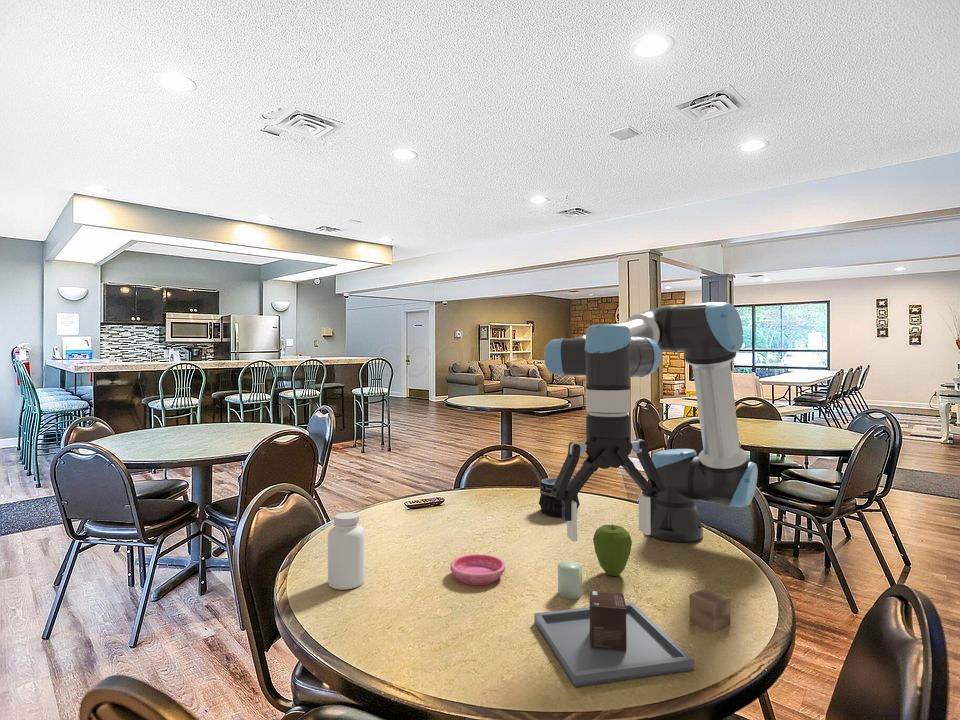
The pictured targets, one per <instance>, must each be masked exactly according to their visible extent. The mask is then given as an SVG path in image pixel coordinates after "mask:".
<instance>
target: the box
mask: <svg viewBox="0 0 960 720" xmlns="http://www.w3.org/2000/svg"><path fill="white" fill-rule="evenodd" d="M588 595H589V596H588V597H589V601H588V602H589V607H590V645H591V648H596V649H609V650H620V651H626V650H627V634H626V604H625V603H626V601H625V596H624V593H623V592H611V591H610V592H609V591H589V592H588Z"/></svg>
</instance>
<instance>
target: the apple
mask: <svg viewBox="0 0 960 720" xmlns="http://www.w3.org/2000/svg"><path fill="white" fill-rule="evenodd" d="M592 538H593V539H592V540H593V546H594V547H593V548H594V552H595V555H596V557H597V561H598V564H599V566H600V568H601V569H602V570H603V571H604V573H606V575H608V576H612V577H613V576H614V577H619V576H620V575H621V574H622V573H623V571H624V570H625V569H626V566H627V563H628V562H629V561H628V560H629V558H630V555H631V550H632V544H633V540H632V538H631V533H630V532H629V531H627V529H625V528H624V527H623V526H621V525H615V524H613V523H612V524H602V525H601V526H600V527H598V528H597V529H595V532H594V534H593V537H592Z"/></svg>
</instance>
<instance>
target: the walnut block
mask: <svg viewBox="0 0 960 720" xmlns="http://www.w3.org/2000/svg"><path fill="white" fill-rule="evenodd" d="M689 621H691V622H692V623H694V624H696V625H699V626H700V627H702V628H705V629H706V630H708V631H710V632H712V633H713V632H716V631H718V630H721V629H723V628H726V627H729V626H730V625H731V597H729V596H727V595H724V594H721V593H719V592H716V591H714V590H711V589H709V588H708V587H707V588H703V589H701V590H698V591H695V592H692V593H690V594H689Z"/></svg>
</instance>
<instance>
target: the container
mask: <svg viewBox="0 0 960 720" xmlns="http://www.w3.org/2000/svg"><path fill="white" fill-rule="evenodd" d="M572 479H573V478H571V479H570V481H569V483H570V482H571V480H572ZM556 480H557V477H548V478H543V479H542V480H541V481H540V483H538V484H539V485H538V487H539V488H540V489H539V493H540V497H539V501H538V504H539V506H540V510H541V511H540V512H541V513H542V514H544V515H545V516H548V517H553V518H563V517H562V501H561V500H558V499H556V498H555V497H554V496H552V495H551V491H552V488H553V486H554V484H555V482H556ZM569 483H568V484H569ZM573 501H575V502H576V503H577V510H578V509H579V507H580V506H581V505H580V500H579V493H578V494H577V495H576V496H575V498H574V499H573Z"/></svg>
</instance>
